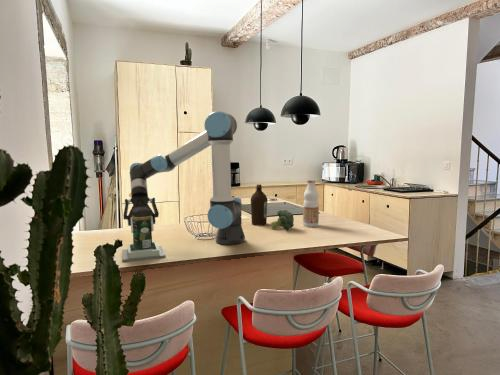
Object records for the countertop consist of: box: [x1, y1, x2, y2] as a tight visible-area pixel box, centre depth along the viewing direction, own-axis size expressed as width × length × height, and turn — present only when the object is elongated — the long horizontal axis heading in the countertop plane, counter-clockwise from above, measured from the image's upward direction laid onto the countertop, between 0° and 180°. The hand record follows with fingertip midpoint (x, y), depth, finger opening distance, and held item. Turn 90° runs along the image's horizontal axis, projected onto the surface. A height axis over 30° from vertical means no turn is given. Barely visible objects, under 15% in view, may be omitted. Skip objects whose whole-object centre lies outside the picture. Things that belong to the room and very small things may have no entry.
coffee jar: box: [132, 206, 153, 250], centre depth 161 cm, size 10×8×19 cm
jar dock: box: [121, 241, 166, 263], centre depth 162 cm, size 18×16×4 cm
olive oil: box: [250, 184, 268, 226], centre depth 224 cm, size 11×11×25 cm
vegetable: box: [269, 209, 295, 231], centre depth 210 cm, size 12×13×15 cm
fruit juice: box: [302, 179, 320, 228], centre depth 219 cm, size 9×9×28 cm
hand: (142, 230), depth 158 cm, fingers closed on coffee jar, 8 cm apart
